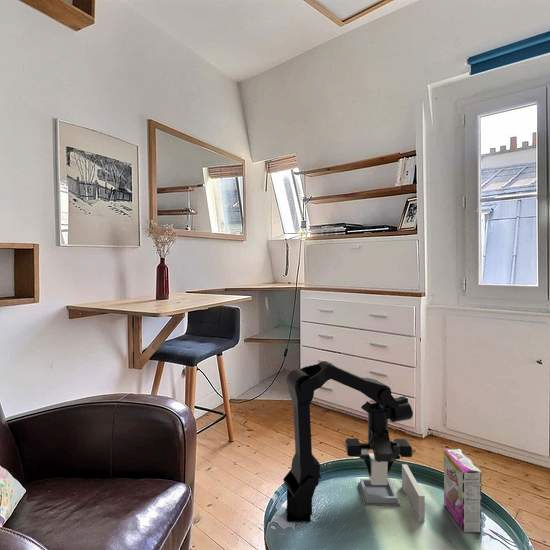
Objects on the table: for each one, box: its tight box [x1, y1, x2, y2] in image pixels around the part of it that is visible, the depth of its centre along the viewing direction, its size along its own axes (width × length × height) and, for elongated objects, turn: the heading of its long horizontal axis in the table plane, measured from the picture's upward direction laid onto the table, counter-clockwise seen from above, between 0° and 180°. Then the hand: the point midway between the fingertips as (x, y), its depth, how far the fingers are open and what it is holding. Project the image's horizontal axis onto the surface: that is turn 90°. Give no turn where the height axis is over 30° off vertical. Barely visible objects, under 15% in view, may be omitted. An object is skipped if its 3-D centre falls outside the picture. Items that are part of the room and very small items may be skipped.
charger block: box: [368, 452, 389, 485], centre depth 109 cm, size 4×4×7 cm
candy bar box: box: [443, 448, 482, 534], centre depth 98 cm, size 11×5×16 cm, turn 0°
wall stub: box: [401, 464, 426, 522], centre depth 105 cm, size 2×15×7 cm, turn 177°
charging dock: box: [358, 478, 401, 507], centre depth 109 cm, size 10×10×2 cm
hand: (377, 475), depth 109 cm, fingers closed on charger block, 4 cm apart
